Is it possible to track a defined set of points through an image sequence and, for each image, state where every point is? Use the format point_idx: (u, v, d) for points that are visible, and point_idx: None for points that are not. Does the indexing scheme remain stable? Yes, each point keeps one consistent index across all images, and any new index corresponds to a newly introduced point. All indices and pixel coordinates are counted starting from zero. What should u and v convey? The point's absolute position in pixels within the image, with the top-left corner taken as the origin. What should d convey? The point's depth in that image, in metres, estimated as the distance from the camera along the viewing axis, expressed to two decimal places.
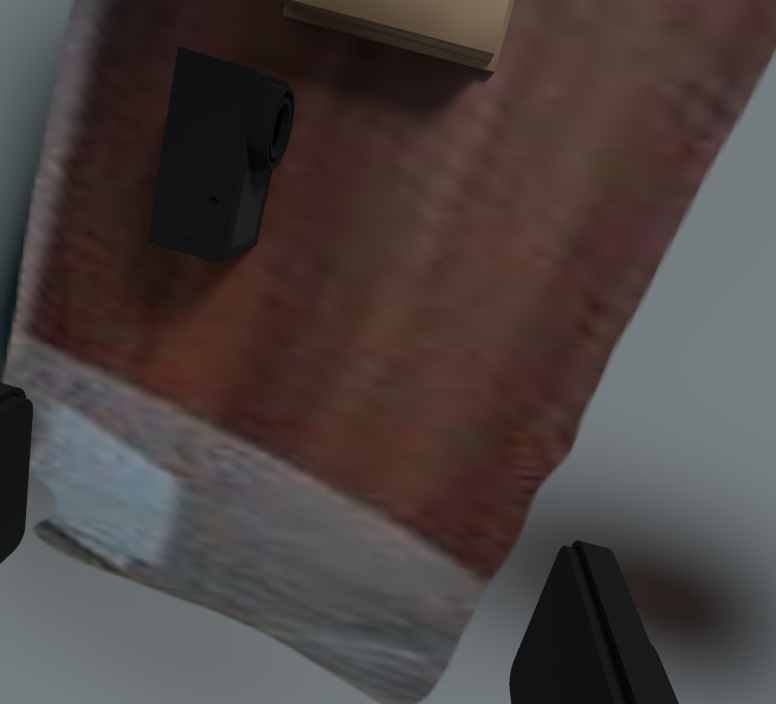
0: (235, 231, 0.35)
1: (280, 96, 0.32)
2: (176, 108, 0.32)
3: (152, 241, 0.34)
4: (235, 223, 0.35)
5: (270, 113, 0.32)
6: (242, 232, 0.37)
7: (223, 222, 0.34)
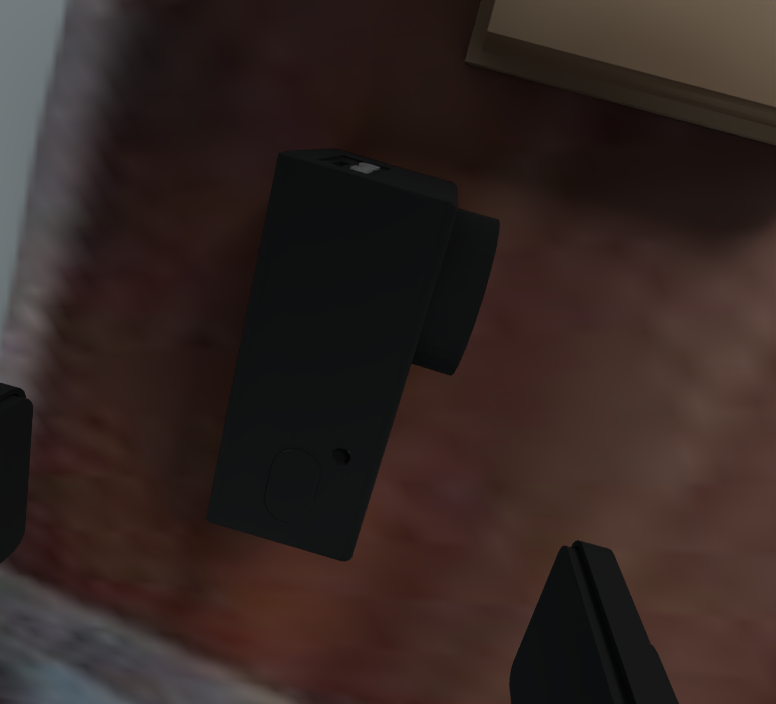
0: None
1: (493, 250, 0.15)
2: (270, 280, 0.15)
3: (214, 521, 0.17)
4: None
5: (475, 291, 0.15)
6: None
7: (360, 494, 0.17)
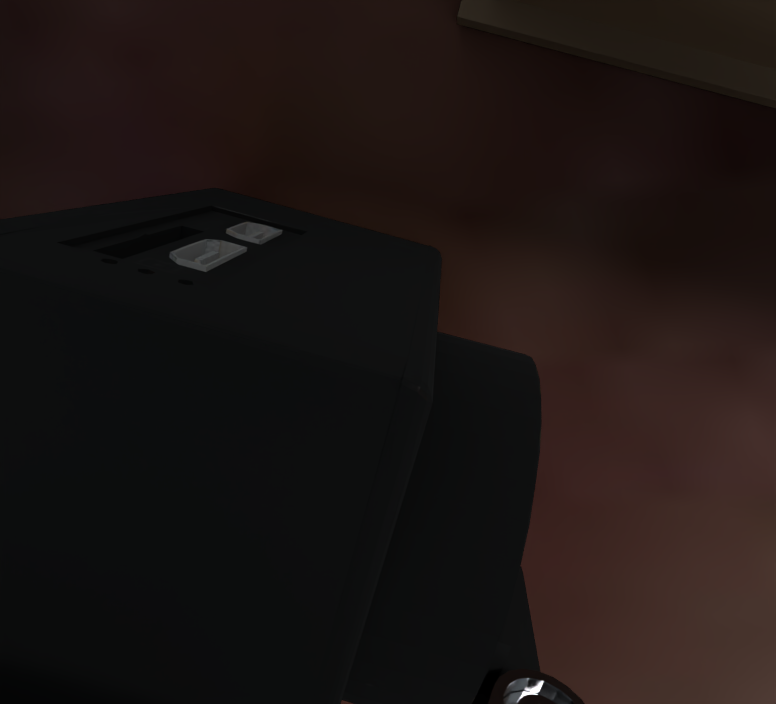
0: None
1: (532, 474, 0.06)
2: None
3: None
4: None
5: (487, 593, 0.05)
6: None
7: None
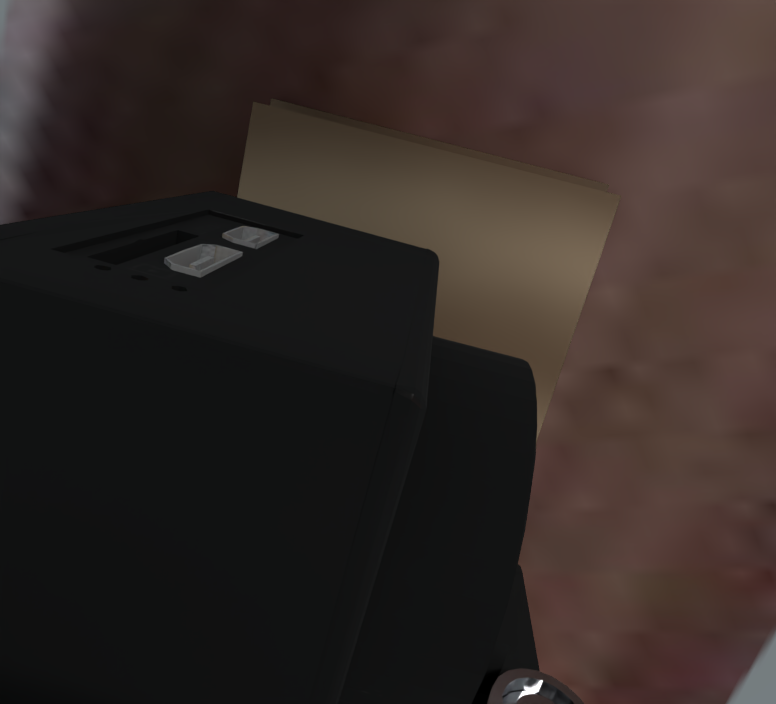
0: None
1: (528, 480, 0.06)
2: None
3: None
4: None
5: (483, 600, 0.05)
6: None
7: None
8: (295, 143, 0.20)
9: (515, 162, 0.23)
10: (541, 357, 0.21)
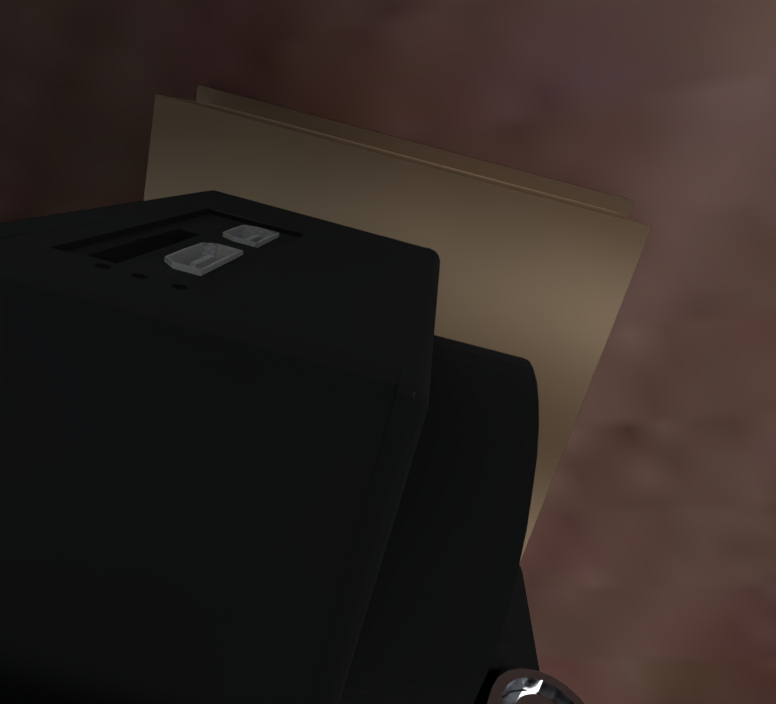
0: None
1: (530, 479, 0.06)
2: None
3: None
4: None
5: (485, 600, 0.05)
6: None
7: None
8: (213, 151, 0.15)
9: (512, 171, 0.17)
10: (539, 431, 0.16)
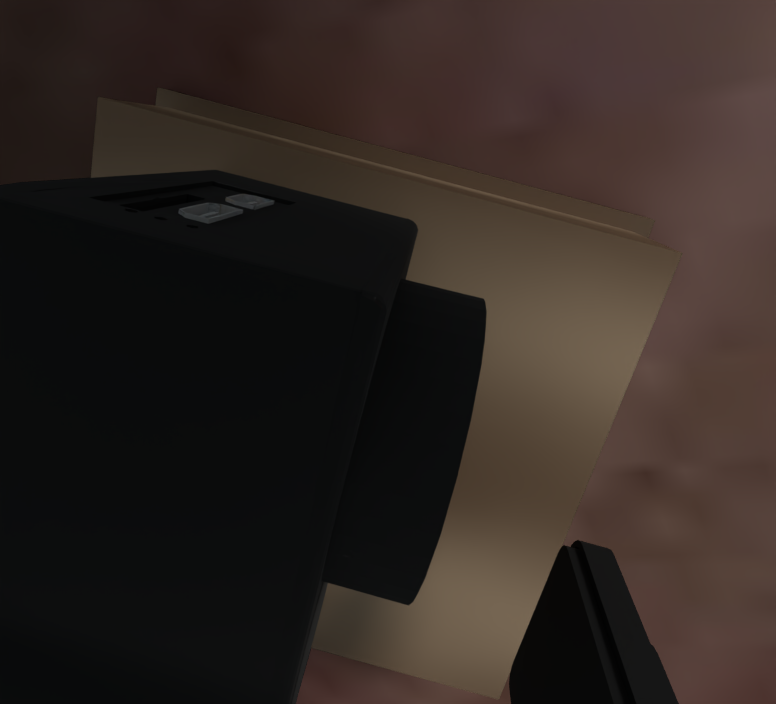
0: None
1: (475, 380, 0.07)
2: None
3: None
4: None
5: (438, 473, 0.07)
6: None
7: None
8: (167, 164, 0.13)
9: (516, 185, 0.15)
10: (549, 487, 0.14)
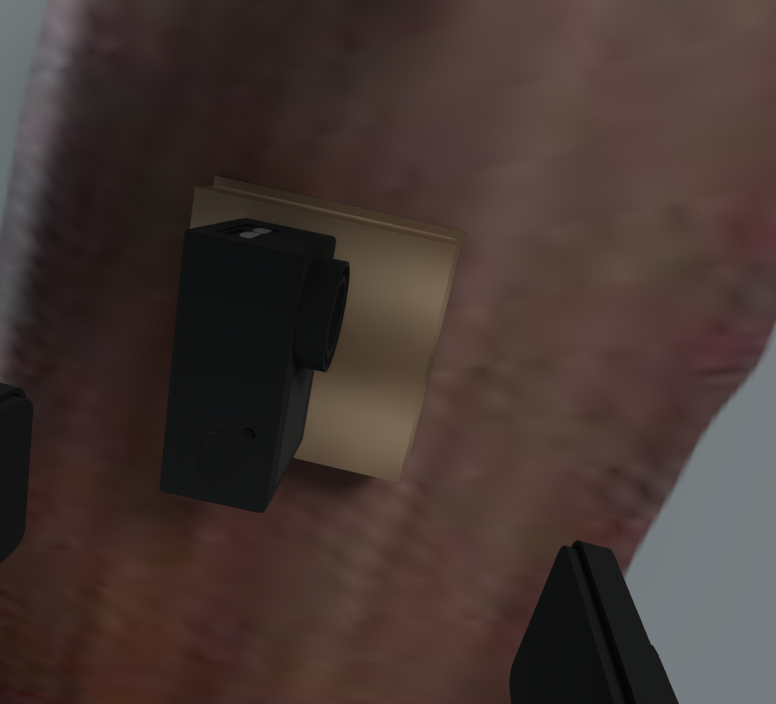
0: (280, 459, 0.25)
1: (337, 283, 0.22)
2: (187, 314, 0.22)
3: (165, 490, 0.24)
4: (280, 451, 0.25)
5: (325, 310, 0.22)
6: (288, 449, 0.26)
7: (265, 460, 0.23)
8: (225, 215, 0.28)
9: (395, 217, 0.31)
10: (411, 361, 0.29)
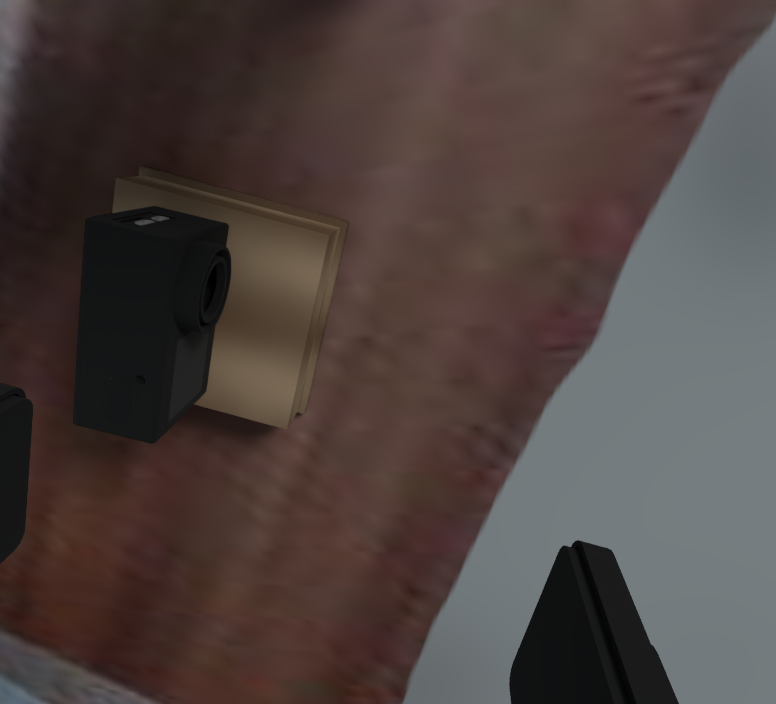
0: (172, 402, 0.31)
1: (207, 263, 0.28)
2: (89, 284, 0.28)
3: (77, 423, 0.30)
4: (170, 396, 0.31)
5: (196, 284, 0.28)
6: (183, 396, 0.33)
7: (154, 402, 0.30)
8: (141, 202, 0.34)
9: (290, 208, 0.36)
10: (294, 329, 0.35)
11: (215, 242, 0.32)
